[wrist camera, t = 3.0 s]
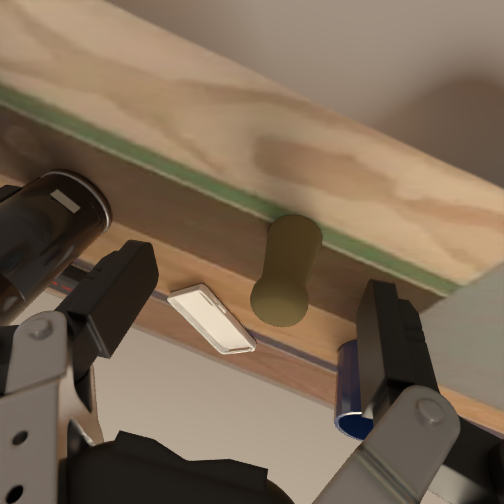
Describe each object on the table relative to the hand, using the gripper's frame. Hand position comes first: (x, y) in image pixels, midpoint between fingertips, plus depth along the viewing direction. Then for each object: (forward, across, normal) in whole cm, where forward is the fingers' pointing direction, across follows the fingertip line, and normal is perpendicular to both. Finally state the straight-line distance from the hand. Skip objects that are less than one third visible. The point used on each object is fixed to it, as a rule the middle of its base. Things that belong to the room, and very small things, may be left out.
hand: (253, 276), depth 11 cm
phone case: (+21, +10, +32) cm, 39 cm away
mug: (+20, -14, +30) cm, 39 cm away
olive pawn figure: (+20, -1, +12) cm, 24 cm away
